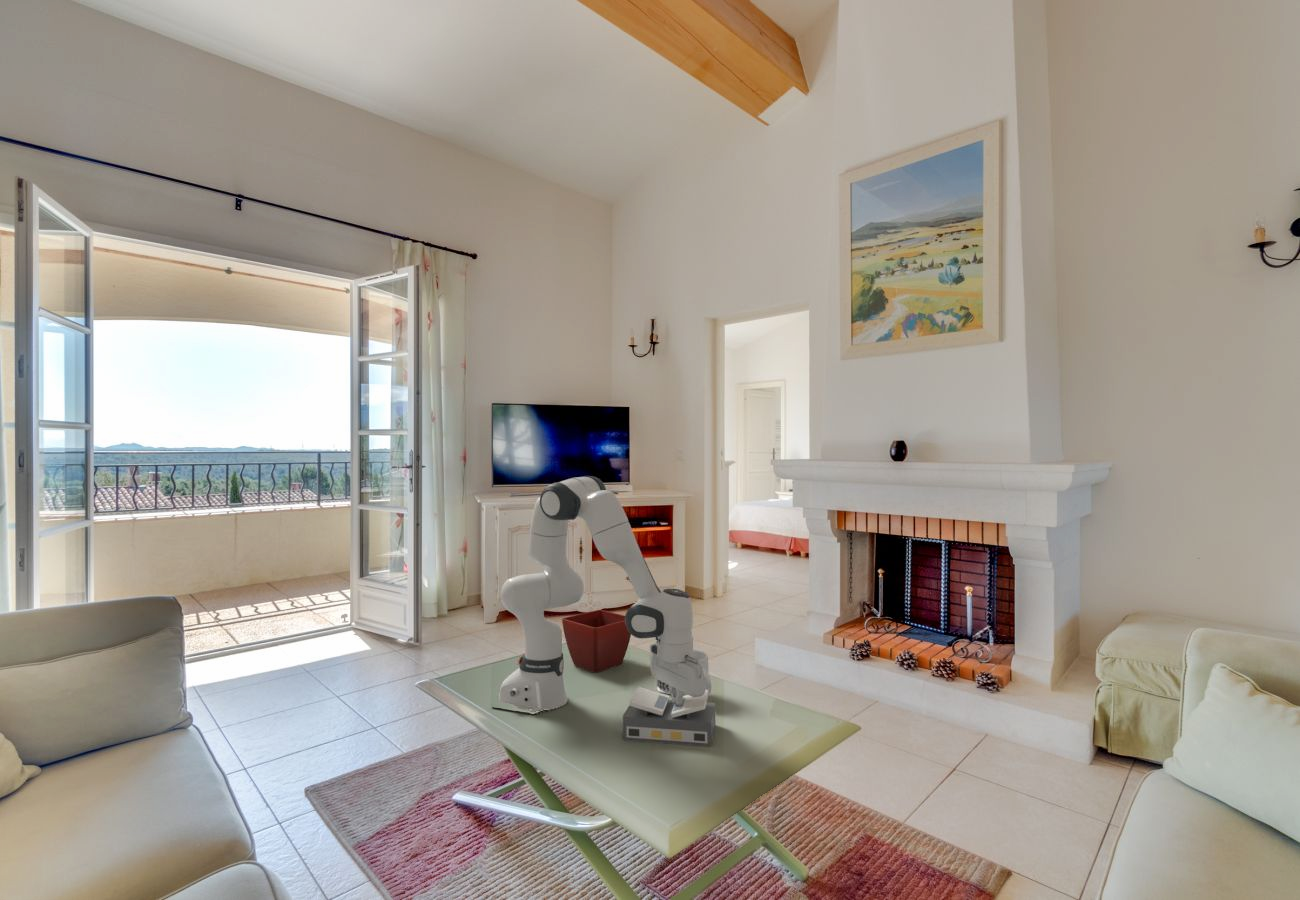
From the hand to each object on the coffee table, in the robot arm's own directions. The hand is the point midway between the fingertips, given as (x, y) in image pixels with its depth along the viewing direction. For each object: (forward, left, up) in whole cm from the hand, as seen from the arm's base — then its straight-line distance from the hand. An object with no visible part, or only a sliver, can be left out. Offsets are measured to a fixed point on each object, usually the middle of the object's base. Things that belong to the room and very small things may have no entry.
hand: (677, 703), depth 159 cm
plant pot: (-36, +50, -8) cm, 62 cm away
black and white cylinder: (-7, +31, -8) cm, 33 cm away
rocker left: (-8, 0, 0) cm, 8 cm away
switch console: (-2, 0, -8) cm, 8 cm away
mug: (+1, +24, -8) cm, 26 cm away
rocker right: (+3, 0, 0) cm, 4 cm away
